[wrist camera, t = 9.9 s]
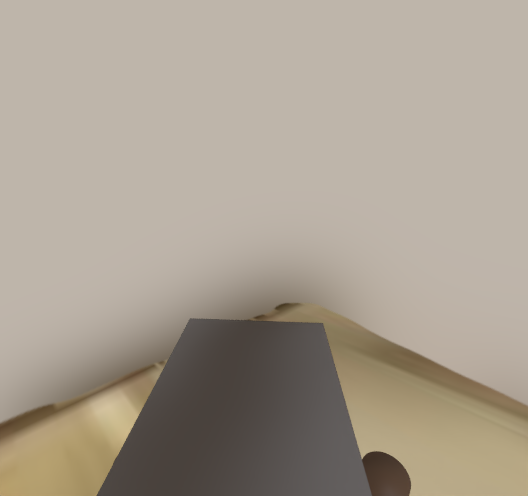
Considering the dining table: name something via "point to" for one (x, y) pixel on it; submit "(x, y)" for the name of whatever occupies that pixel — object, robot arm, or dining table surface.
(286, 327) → the brown wooden block
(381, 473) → the board
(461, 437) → the dining table surface
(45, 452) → the dining table surface
